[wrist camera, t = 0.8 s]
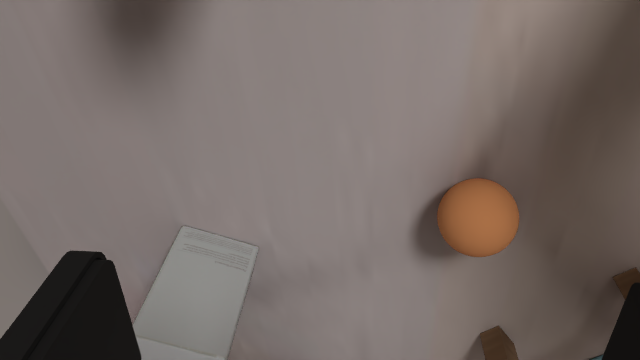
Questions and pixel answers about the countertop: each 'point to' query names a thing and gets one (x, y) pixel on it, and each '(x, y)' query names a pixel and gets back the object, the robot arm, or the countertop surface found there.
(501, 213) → the ball
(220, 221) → the countertop surface
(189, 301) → the supplement box
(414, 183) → the countertop surface
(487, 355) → the bridge
